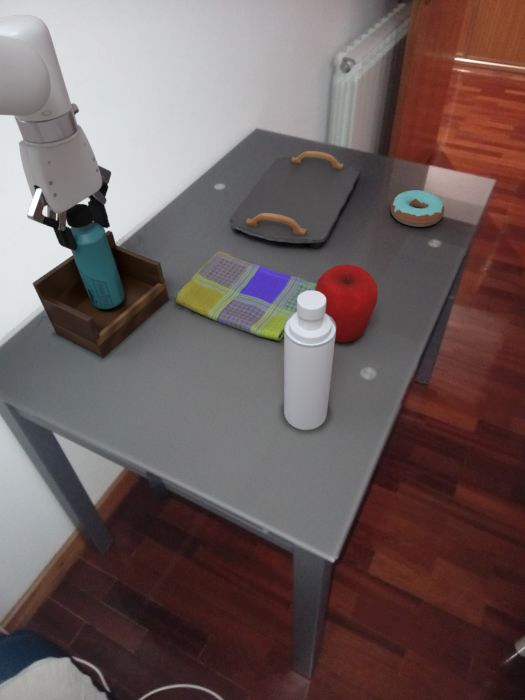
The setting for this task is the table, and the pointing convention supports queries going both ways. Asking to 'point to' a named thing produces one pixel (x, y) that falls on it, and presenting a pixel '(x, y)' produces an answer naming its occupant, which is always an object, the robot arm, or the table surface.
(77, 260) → the beverage bottle
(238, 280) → the dish towel
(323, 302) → the spray bottle
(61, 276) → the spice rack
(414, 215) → the donut
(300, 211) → the serving tray
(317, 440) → the table surface
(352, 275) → the apple
